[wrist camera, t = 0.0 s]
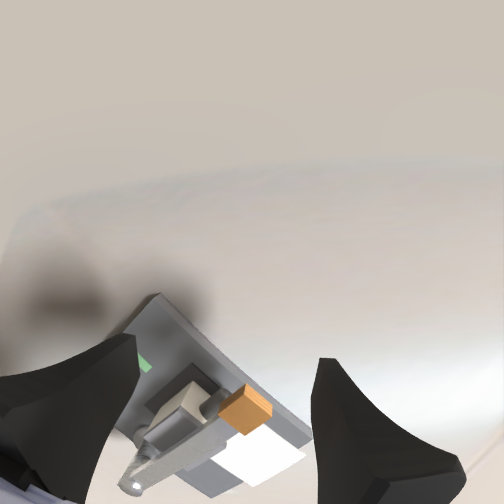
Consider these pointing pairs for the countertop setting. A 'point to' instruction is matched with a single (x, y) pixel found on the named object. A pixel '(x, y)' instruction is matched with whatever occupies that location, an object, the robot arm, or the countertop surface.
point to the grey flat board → (211, 380)
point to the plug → (185, 419)
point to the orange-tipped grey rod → (196, 441)
